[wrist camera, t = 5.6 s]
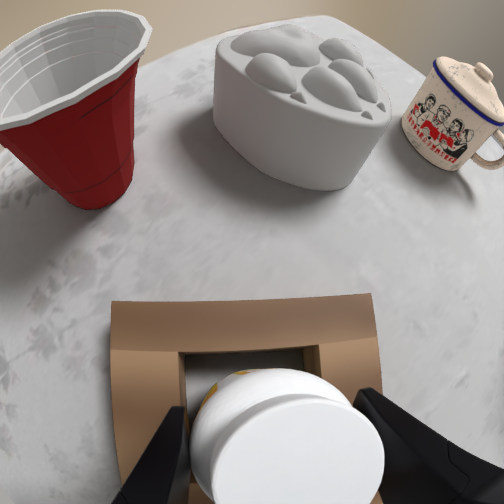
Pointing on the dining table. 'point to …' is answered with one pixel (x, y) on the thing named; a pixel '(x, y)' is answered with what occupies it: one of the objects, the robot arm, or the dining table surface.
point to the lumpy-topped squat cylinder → (298, 105)
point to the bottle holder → (228, 342)
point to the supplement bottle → (283, 442)
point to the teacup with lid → (455, 115)
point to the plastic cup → (75, 103)
